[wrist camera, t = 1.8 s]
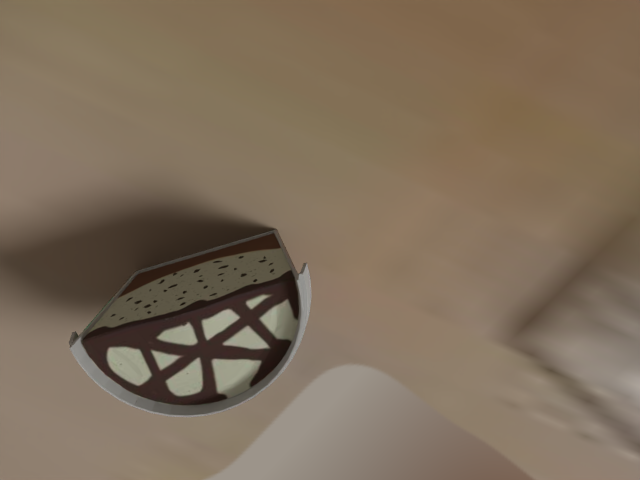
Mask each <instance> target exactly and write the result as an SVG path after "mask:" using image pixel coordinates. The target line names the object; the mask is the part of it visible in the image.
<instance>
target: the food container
mask: <svg viewBox="0 0 640 480" xmlns="http://www.w3.org/2000/svg"><path fill="white" fill-rule="evenodd" d="M310 305H311V281H310V275H309V270H308V266H307V263H304V264H303V267H302V270H301V272H300V273H299V274H298V273H297V271H296V269H295V267H294V265H293V263H292V260H291V258H290V256H289V254H288V252H287V250H286V248H285V246H284V244H283V241H282V239H281V237H280V235H279V233H278V231H277V229H275V230H272V231H269V232H265V233H262V234H259V235H255V236H252V237H249V238H245V239H242V240H239V241H235V242H232V243H228V244H225V245H222V246H218V247H215V248H212V249H208V250H205V251H202V252H198V253H195V254H192V255H188V256H185V257H182V258H178V259H175V260H172V261H168V262H165V263H161V264H158V265H155V266H151V267H148V268H145V269H141V270H138V271H135V272H134V274H133V275H132V276H131V277H130V278H129V279H128V280H127V282H126V283H125V284H124V285H123V286H122V287H121V288H120V290H119V291H118V292H117V293H116V294H115V295H114V296H113V298H112V299H111V300H110V301H109V302H108V303H107V304H106V306H105V307H104V308H103V309H102V310H101V311H100V312H99V314H98V315H97V316H96V317H95V318H94V319H93V320H92V321H91V323H90V324H89V325H88V326H87V327H86V328H85V329H84V331H83V332H82V333H81V334H80V335H79V336H78V335H77V333H76V331H75V332H73V333H72V335H71V338H70V341H69V345H70V350H71V352H72V353H73V355H74V357H75V358H76V360H77V362H78V363H79V365H80V366H81V367H82V368H83V370H84V371H85V372H86V373H87V375H88V376H89V377H90V378H91V379H92V380H93V381H94V382H96V383H97V384H98V385H99V386H100V387H101V388H102V389H103V390H105V391H106V392H108V393H109V394H111V395H112V396H114V397H115V398H116V399H118V400H120V401H122V402H124V403H126V404H128V405H130V406H132V407H135V408H138V409H141V410H144V411H147V412H150V413H154V414H159V415H165V416H172V417H196V416H206V415H210V414H215V413H219V412H223V411H226V410H228V409H231V408H234V407H236V406H239V405H241V404H243V403H244V402H246V401H248V400H250V399H252V398H253V397H255V396H256V395H258V394H259V393H260V392H261V391H263V390H264V389H265V388H267V387H268V386H269V385H271V384H272V383H273V382H274V381H275V380H276V379H277V378H278V376H279V375H280V374H281V373H282V372H283V371H284V370H285V368H286V367H287V366H288V364H289V363H290V361H291V360H292V358H293V357H294V355H295V353H296V351H297V349H298V347H299V344H300V342H301V340H302V337H303V334H304V331H305V328H306V324H307V321H308V317H309V314H310Z"/></svg>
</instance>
